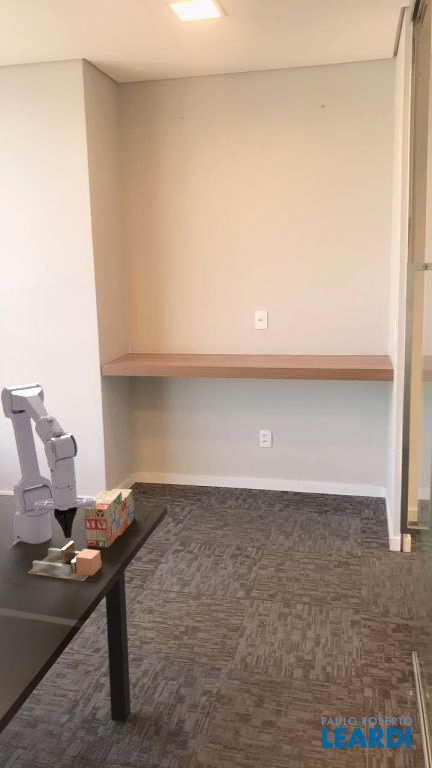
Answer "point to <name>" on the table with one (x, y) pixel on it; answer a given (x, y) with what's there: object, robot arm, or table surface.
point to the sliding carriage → (69, 556)
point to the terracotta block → (88, 562)
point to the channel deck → (56, 566)
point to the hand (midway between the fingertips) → (68, 536)
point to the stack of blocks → (109, 516)
